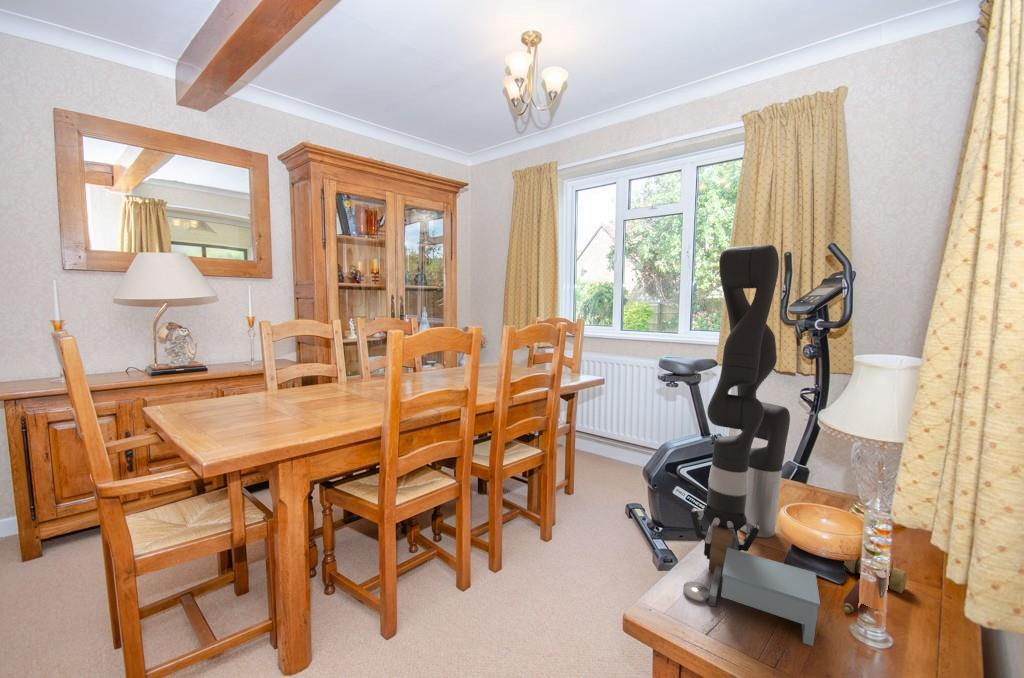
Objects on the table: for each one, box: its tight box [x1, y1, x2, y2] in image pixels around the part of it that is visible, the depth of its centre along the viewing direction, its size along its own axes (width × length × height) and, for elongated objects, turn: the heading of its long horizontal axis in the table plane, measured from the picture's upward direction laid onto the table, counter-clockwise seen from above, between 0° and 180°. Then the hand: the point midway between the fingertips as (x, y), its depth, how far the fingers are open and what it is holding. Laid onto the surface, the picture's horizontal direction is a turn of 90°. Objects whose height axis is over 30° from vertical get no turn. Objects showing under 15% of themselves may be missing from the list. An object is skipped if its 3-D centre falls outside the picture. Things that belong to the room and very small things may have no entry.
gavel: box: [843, 557, 908, 614], centre depth 95 cm, size 21×5×10 cm
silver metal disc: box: [682, 580, 711, 604], centre depth 93 cm, size 5×5×1 cm
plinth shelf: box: [720, 548, 821, 647], centre depth 88 cm, size 10×15×8 cm
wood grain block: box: [708, 526, 733, 607], centre depth 95 cm, size 16×4×10 cm, turn 150°
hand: (720, 560), depth 101 cm, fingers closed on wood grain block, 4 cm apart
